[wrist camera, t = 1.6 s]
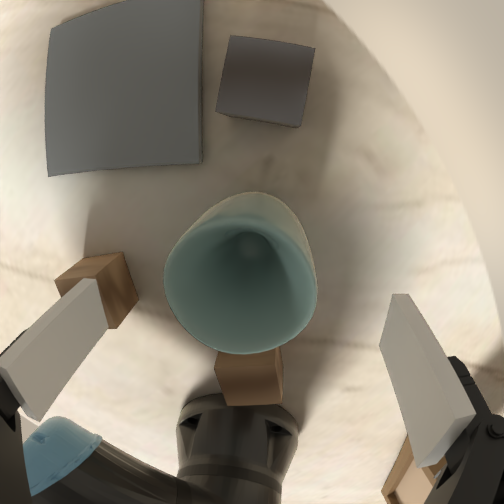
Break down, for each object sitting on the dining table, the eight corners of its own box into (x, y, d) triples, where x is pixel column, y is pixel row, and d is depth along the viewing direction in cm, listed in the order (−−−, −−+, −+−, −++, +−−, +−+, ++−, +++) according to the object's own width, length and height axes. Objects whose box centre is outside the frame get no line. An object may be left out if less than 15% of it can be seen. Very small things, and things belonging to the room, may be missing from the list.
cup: (277, 165, 22) (275, 187, 13) (320, 253, 24) (340, 326, 15) (189, 210, 24) (134, 259, 14) (235, 289, 26) (212, 370, 17)
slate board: (202, 162, 22) (199, 163, 21) (54, 174, 23) (48, 176, 23) (204, -11, 17) (201, -16, 16) (56, 30, 18) (50, 28, 17)
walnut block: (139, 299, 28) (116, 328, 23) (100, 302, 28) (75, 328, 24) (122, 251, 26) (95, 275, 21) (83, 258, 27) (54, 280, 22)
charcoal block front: (296, 128, 21) (300, 125, 16) (229, 116, 21) (215, 111, 16) (308, 66, 19) (315, 48, 14) (241, 55, 19) (230, 35, 14)
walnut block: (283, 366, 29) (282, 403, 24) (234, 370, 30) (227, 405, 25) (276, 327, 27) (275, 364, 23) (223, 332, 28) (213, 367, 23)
